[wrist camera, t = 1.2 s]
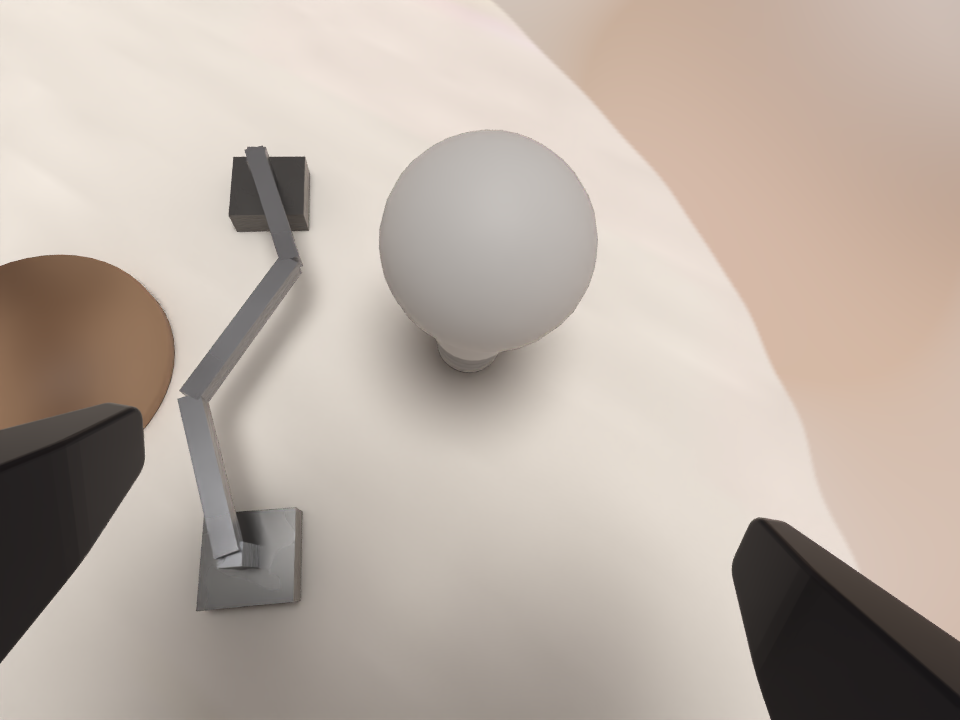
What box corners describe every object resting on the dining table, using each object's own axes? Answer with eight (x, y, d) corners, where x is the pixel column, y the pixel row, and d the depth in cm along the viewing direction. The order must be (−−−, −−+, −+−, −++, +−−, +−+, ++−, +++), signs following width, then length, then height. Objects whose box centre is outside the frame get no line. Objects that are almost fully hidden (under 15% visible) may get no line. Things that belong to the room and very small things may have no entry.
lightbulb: (569, 359, 24) (681, 193, 14) (459, 453, 22) (494, 342, 12) (472, 260, 25) (508, 40, 15) (361, 341, 23) (316, 153, 13)
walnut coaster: (-18, 544, 19) (-35, 542, 18) (-130, 351, 21) (-150, 343, 20) (220, 385, 22) (213, 377, 21) (101, 227, 24) (90, 216, 23)
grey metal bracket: (310, 599, 20) (288, 602, 16) (198, 610, 19) (154, 616, 16) (317, 174, 26) (303, 117, 23) (233, 175, 26) (207, 117, 22)
